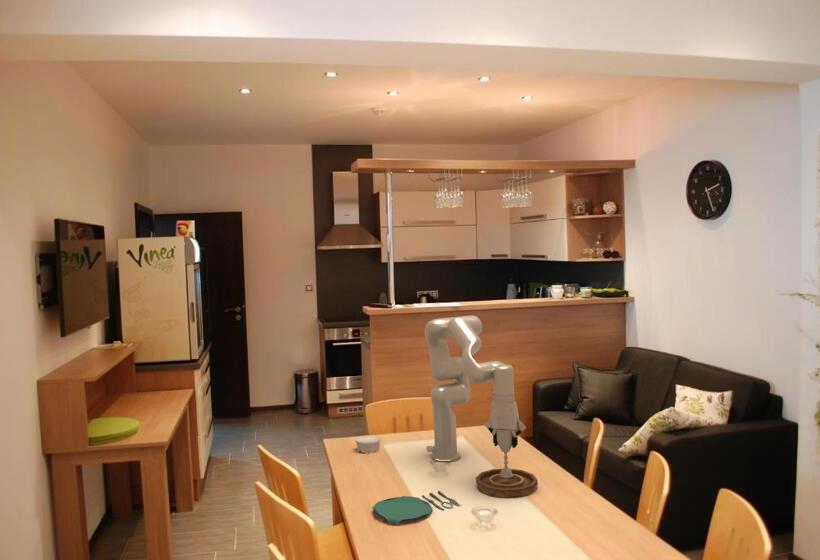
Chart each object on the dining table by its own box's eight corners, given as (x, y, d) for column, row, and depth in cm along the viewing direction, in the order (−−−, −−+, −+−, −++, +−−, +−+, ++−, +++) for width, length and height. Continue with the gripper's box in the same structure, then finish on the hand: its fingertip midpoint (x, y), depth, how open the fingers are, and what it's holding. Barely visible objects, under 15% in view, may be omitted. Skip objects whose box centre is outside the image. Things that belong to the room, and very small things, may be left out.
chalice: (515, 472, 241) (514, 424, 240) (516, 478, 234) (515, 429, 233) (496, 472, 242) (494, 425, 241) (496, 478, 235) (495, 430, 234)
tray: (468, 493, 233) (468, 485, 233) (488, 473, 253) (487, 465, 253) (527, 501, 223) (527, 493, 223) (543, 480, 243) (542, 472, 243)
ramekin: (352, 448, 291) (352, 437, 291) (375, 445, 295) (375, 433, 295) (361, 455, 281) (360, 443, 280) (384, 451, 285) (384, 439, 285)
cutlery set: (363, 509, 222) (363, 502, 222) (437, 492, 236) (437, 486, 236) (389, 531, 205) (389, 524, 204) (467, 511, 219) (467, 505, 219)
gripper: (478, 398, 237) (480, 446, 238) (524, 402, 230) (525, 451, 230) (485, 394, 244) (486, 441, 245) (529, 397, 236) (531, 445, 237)
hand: (505, 445), depth 237 cm, fingers closed on chalice, 6 cm apart
